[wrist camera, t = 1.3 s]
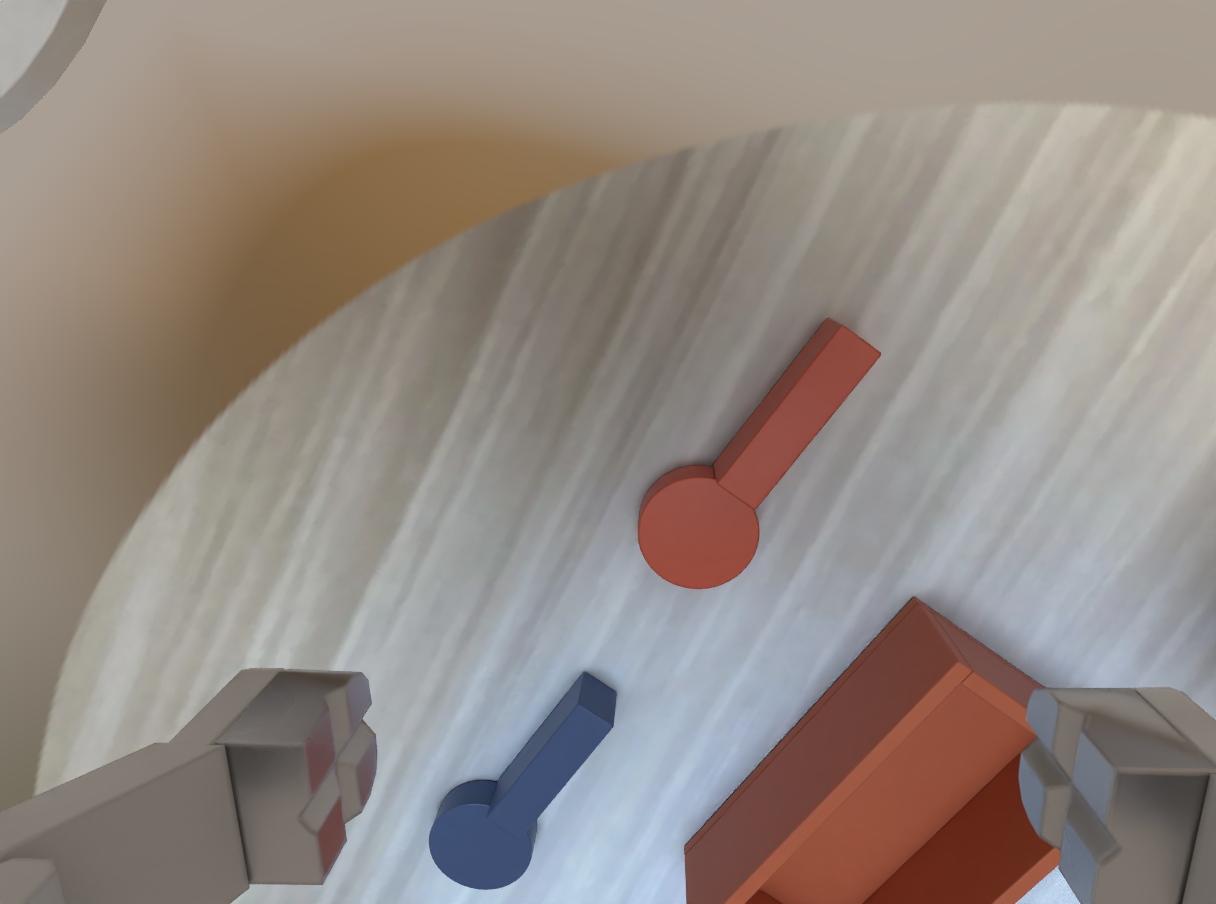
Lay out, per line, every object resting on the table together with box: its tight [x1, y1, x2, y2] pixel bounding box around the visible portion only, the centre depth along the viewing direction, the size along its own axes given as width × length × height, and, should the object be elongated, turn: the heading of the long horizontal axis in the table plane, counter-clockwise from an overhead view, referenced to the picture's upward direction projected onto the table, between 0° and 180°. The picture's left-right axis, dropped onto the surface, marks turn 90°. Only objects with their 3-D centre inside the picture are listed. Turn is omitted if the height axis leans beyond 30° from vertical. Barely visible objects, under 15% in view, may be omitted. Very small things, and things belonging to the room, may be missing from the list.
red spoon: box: [638, 318, 881, 589], centre depth 26 cm, size 10×4×2 cm, turn 145°
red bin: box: [684, 597, 1061, 904], centre depth 28 cm, size 8×14×4 cm, turn 145°
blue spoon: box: [429, 672, 617, 890], centre depth 30 cm, size 10×4×2 cm, turn 145°
